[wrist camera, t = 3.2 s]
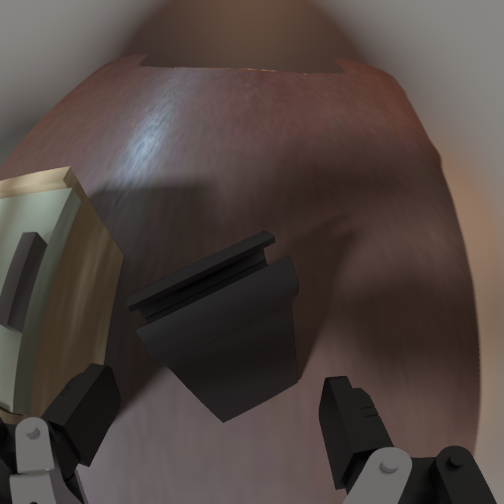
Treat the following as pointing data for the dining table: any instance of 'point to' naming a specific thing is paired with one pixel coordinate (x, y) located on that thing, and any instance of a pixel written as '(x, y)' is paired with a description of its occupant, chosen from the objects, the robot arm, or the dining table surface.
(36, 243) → the bread box
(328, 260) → the dining table surface
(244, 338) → the phone stand
